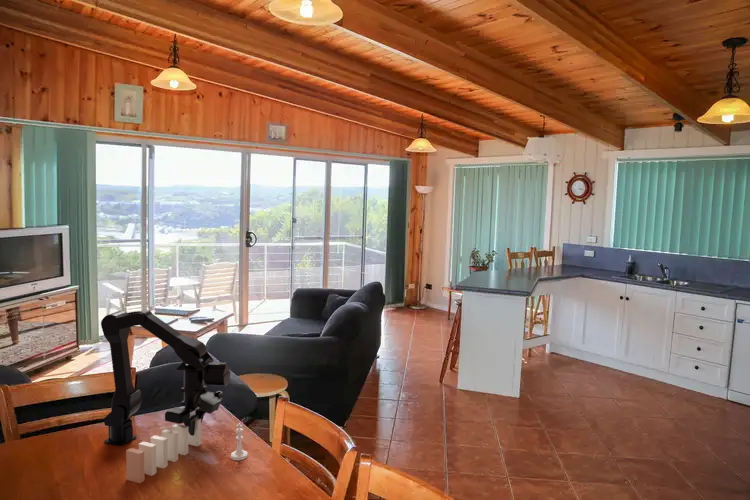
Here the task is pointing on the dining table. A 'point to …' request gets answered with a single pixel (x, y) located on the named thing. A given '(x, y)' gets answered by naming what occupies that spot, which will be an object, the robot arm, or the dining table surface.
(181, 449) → the domino
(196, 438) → the domino
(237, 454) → the chess piece
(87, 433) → the dining table surface
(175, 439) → the domino
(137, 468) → the domino
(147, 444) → the domino
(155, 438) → the domino
